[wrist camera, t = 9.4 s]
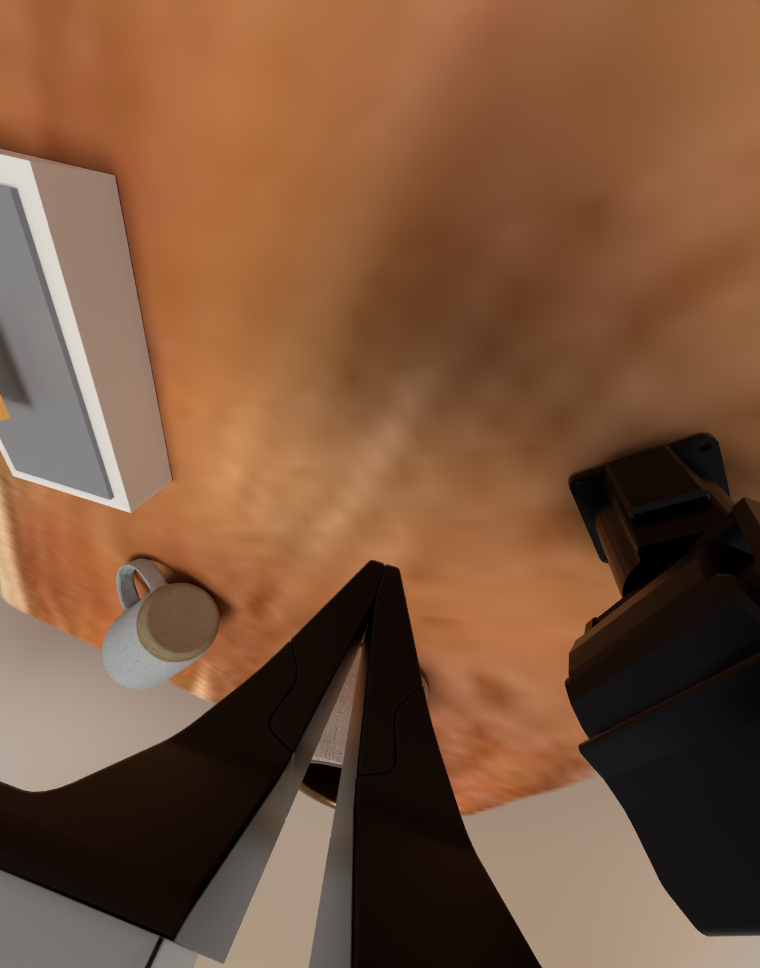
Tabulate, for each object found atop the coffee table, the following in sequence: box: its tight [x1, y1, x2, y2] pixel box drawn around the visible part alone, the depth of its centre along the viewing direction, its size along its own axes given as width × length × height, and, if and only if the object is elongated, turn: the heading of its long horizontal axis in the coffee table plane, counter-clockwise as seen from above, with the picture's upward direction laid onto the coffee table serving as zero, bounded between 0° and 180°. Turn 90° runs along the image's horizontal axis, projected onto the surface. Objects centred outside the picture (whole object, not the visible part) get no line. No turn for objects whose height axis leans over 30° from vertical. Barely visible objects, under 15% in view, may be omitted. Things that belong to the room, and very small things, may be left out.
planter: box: [299, 645, 428, 809], centre depth 33 cm, size 11×11×10 cm
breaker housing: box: [0, 149, 172, 513], centre depth 21 cm, size 9×18×4 cm, turn 169°
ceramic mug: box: [102, 558, 219, 689], centre depth 33 cm, size 11×8×8 cm
